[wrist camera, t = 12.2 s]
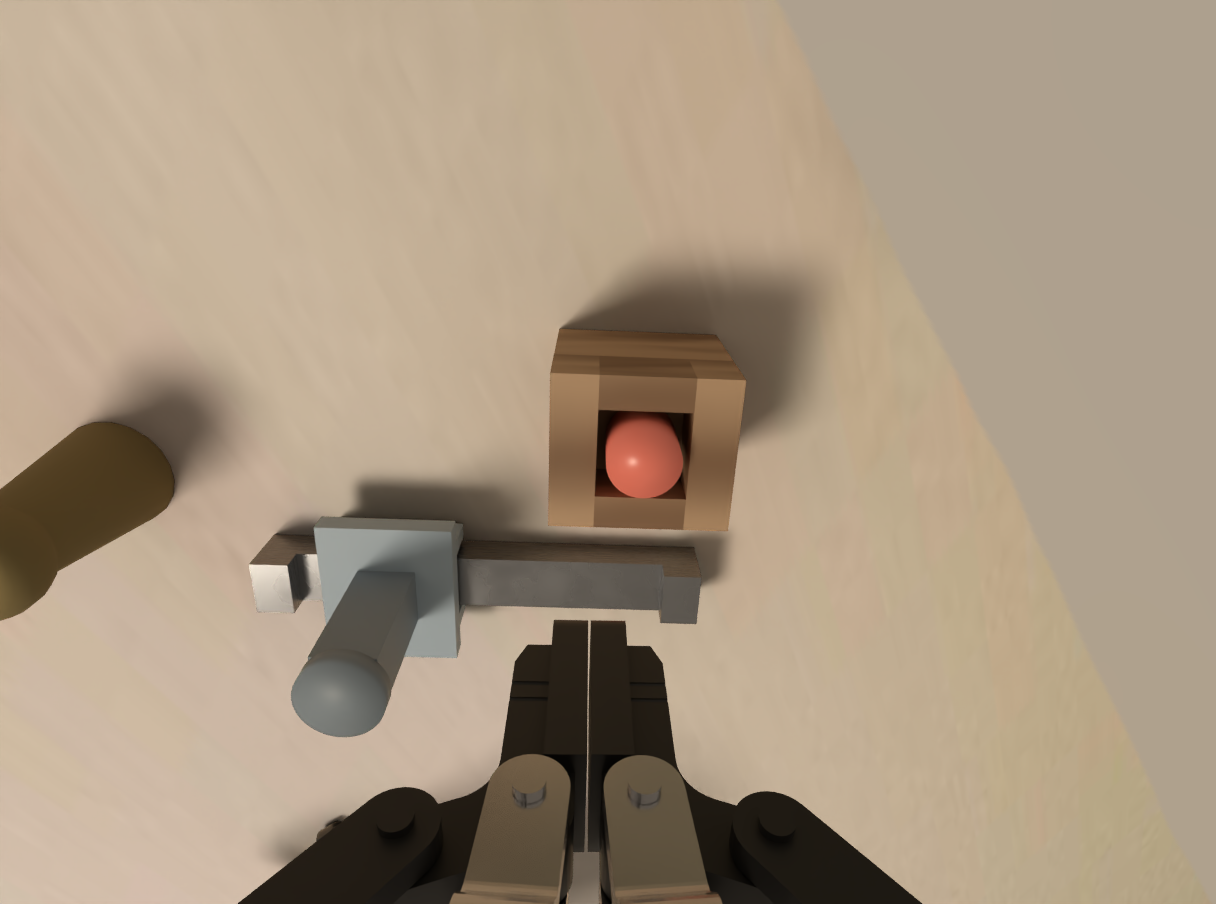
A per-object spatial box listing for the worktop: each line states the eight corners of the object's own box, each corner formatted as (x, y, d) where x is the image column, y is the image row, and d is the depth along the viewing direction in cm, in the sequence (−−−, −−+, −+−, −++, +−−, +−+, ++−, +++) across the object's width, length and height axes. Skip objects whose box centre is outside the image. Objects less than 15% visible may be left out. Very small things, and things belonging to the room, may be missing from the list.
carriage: (335, 499, 40) (241, 622, 29) (462, 503, 40) (414, 626, 29) (348, 619, 43) (268, 769, 32) (466, 622, 43) (425, 772, 32)
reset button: (606, 402, 32) (607, 426, 29) (678, 405, 32) (686, 429, 29) (603, 468, 33) (604, 497, 30) (672, 470, 33) (679, 499, 30)
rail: (274, 534, 41) (248, 564, 38) (693, 547, 41) (701, 577, 38) (281, 579, 42) (257, 612, 39) (689, 591, 42) (696, 624, 39)
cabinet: (559, 328, 36) (550, 372, 29) (715, 335, 36) (746, 380, 29) (557, 462, 39) (548, 533, 32) (702, 467, 39) (726, 539, 32)
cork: (196, 473, 39) (55, 585, 29) (137, 542, 41) (-17, 671, 30) (95, 399, 37) (-92, 490, 27) (38, 474, 39) (-160, 586, 29)
